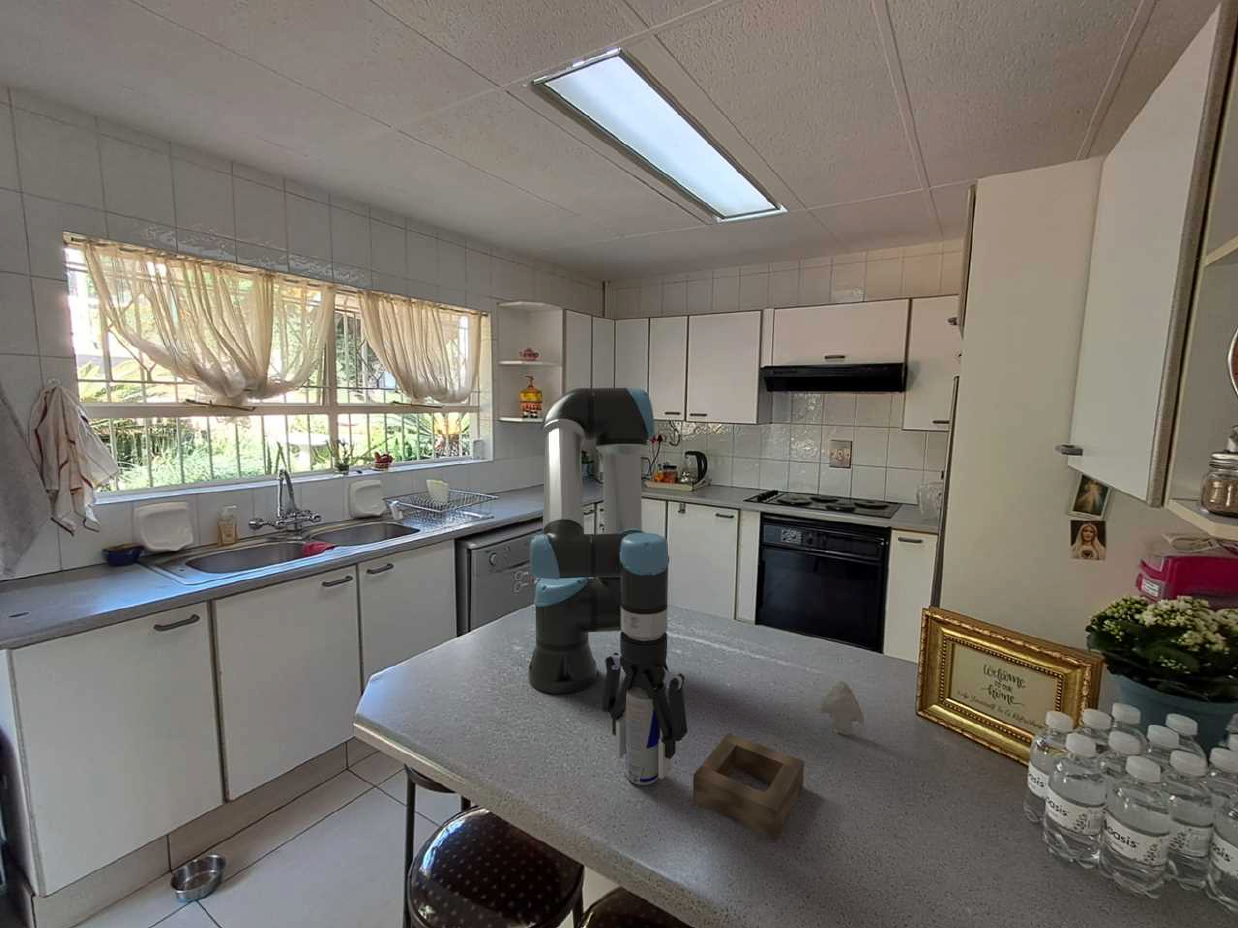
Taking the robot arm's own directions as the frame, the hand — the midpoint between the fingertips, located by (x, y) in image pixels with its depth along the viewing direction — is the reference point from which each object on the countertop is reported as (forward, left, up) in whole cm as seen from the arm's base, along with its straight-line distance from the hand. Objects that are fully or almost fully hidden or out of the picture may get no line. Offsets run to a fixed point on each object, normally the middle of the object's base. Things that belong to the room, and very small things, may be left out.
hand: (642, 763), depth 90 cm
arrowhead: (+24, +31, -2) cm, 39 cm away
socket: (+16, +6, -2) cm, 17 cm away
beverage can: (0, 0, -2) cm, 2 cm away
